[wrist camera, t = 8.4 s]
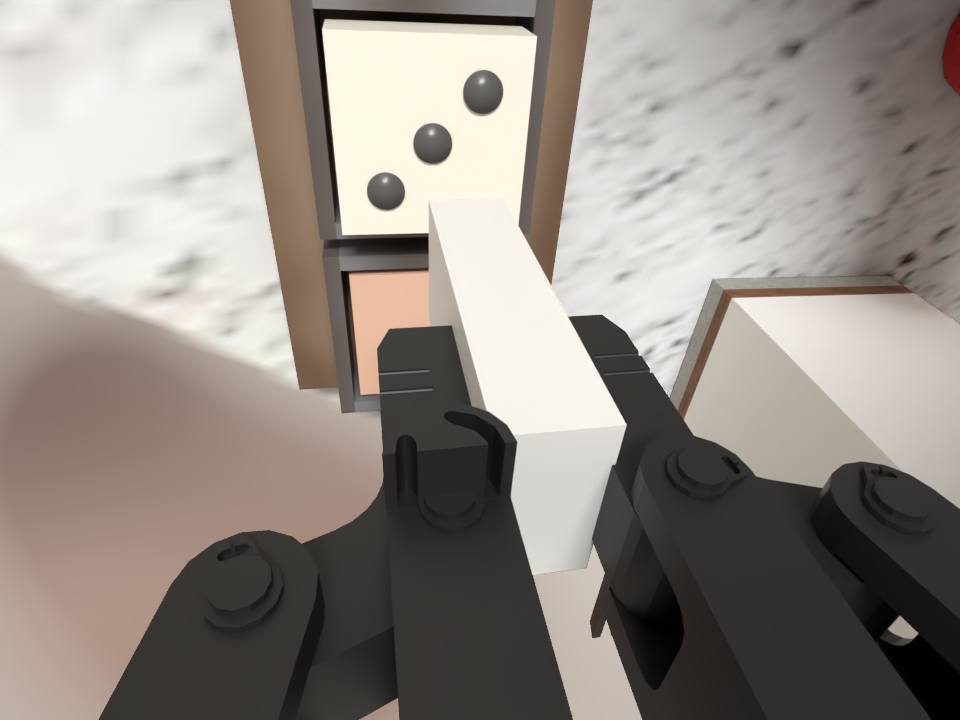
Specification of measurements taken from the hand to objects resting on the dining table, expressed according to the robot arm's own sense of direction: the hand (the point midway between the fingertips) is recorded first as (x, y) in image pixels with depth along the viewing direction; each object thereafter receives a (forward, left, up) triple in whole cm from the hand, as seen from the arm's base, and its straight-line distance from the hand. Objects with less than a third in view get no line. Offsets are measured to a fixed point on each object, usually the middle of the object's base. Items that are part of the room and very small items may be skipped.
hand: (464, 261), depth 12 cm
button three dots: (0, 0, -10) cm, 10 cm away
